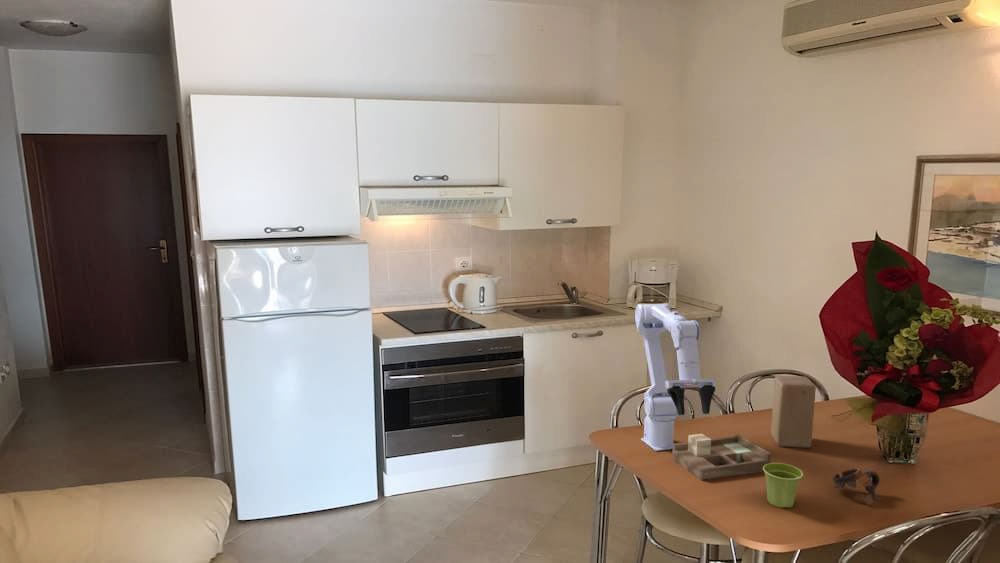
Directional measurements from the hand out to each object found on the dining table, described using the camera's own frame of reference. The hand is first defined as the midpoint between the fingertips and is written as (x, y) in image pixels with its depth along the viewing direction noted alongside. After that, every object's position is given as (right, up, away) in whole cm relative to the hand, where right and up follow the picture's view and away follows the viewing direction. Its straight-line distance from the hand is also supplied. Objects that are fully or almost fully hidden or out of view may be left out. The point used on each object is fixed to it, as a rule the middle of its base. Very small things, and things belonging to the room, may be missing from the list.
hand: (693, 414), depth 187 cm
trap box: (+11, -16, +11) cm, 22 cm away
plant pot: (+19, -20, -12) cm, 30 cm away
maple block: (+5, -13, +12) cm, 18 cm away
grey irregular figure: (+40, -20, -8) cm, 45 cm away
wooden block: (+38, -14, +28) cm, 49 cm away
